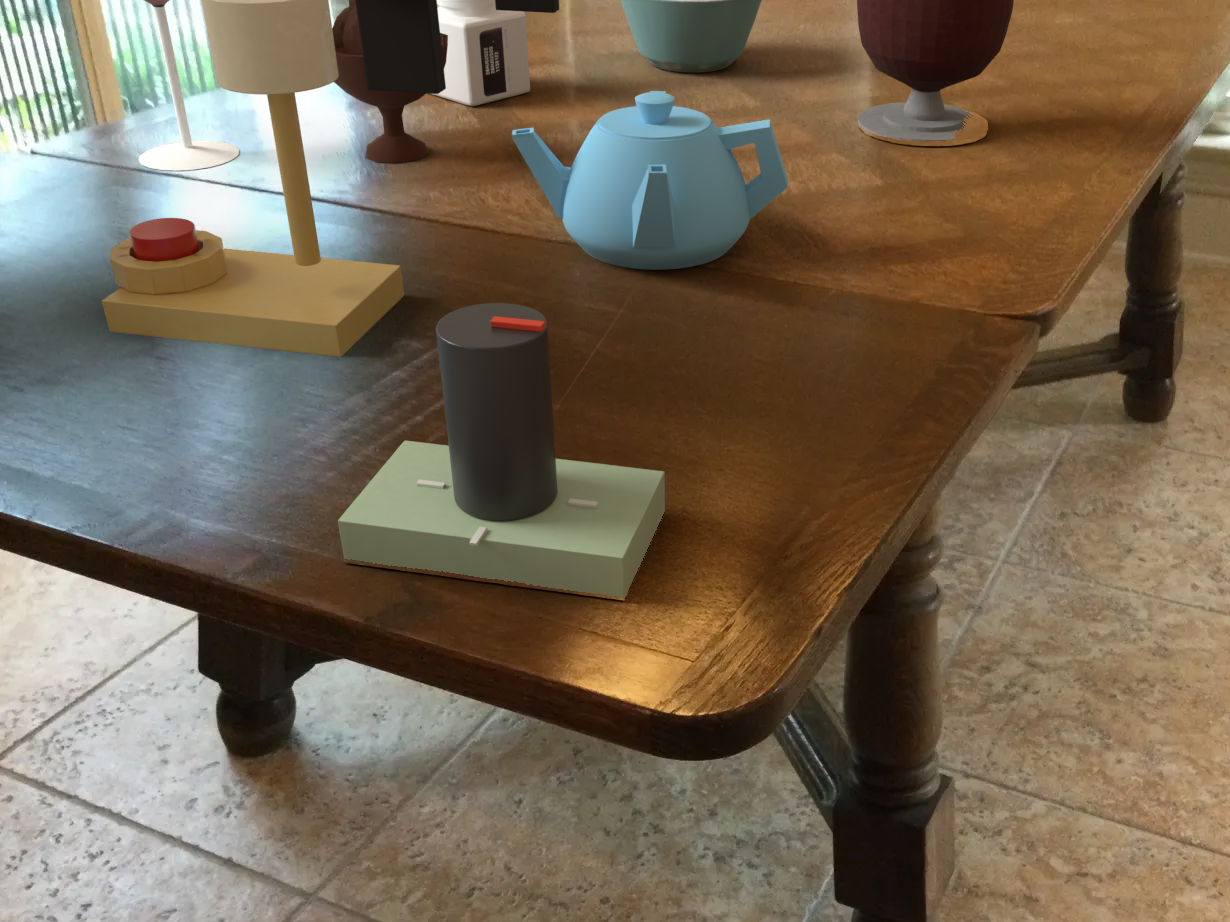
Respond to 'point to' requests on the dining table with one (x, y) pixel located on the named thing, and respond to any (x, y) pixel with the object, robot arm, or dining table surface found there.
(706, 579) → the dining table surface
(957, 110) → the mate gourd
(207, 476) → the dining table surface
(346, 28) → the ice cream bowl
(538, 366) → the dimmer knob
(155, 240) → the lamp switch
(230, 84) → the lamp
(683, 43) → the bowl
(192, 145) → the wineglass
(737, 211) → the teapot
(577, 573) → the dimmer panel
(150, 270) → the lamp base
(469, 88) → the container
